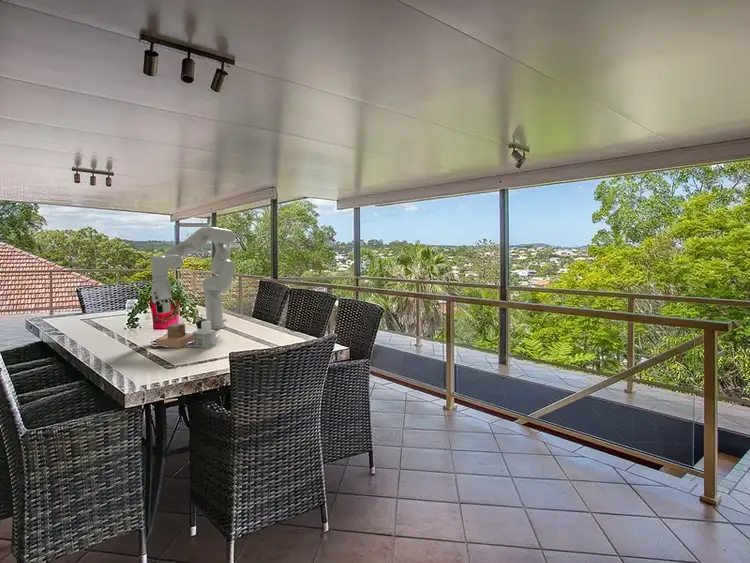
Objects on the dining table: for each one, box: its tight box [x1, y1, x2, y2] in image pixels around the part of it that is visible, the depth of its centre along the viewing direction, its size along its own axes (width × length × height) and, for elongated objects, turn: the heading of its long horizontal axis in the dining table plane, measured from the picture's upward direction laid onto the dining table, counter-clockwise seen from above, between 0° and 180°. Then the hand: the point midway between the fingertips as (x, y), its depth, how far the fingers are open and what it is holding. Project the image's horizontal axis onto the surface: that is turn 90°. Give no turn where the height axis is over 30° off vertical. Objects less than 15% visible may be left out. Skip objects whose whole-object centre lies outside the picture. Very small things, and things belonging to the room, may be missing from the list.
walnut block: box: [166, 323, 186, 338], centre depth 228 cm, size 6×6×6 cm
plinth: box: [155, 332, 193, 349], centre depth 228 cm, size 14×14×4 cm
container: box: [192, 319, 217, 349], centre depth 223 cm, size 8×8×13 cm
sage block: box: [155, 301, 172, 314], centre depth 239 cm, size 5×5×5 cm
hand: (163, 311), depth 240 cm, fingers closed on sage block, 5 cm apart
